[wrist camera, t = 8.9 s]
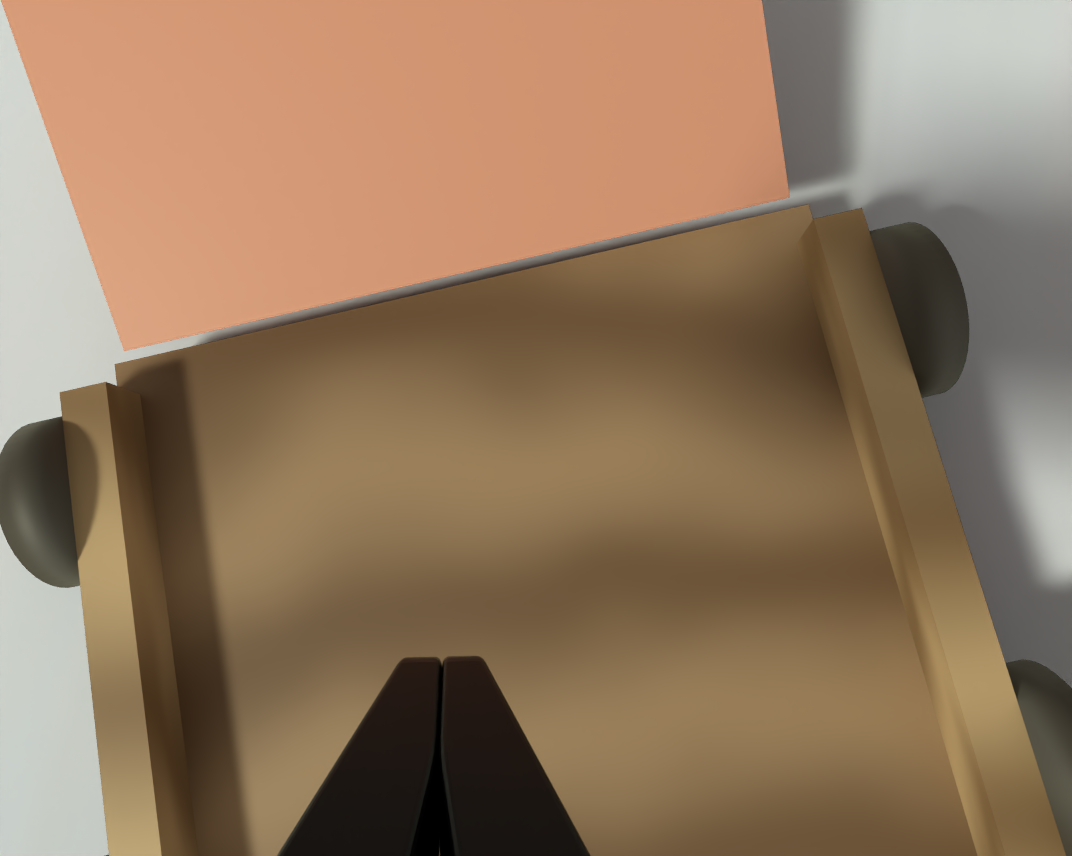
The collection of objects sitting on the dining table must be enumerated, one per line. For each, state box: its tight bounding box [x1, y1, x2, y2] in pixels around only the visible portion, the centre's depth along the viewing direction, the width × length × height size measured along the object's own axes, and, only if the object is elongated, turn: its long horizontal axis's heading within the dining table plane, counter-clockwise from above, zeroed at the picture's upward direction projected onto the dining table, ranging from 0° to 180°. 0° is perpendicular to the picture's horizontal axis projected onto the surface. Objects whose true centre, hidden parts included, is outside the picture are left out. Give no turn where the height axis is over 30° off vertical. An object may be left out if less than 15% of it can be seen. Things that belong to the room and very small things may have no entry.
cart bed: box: [0, 204, 1072, 856], centre depth 19 cm, size 18×23×4 cm
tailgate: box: [1, 0, 790, 351], centre depth 19 cm, size 2×17×11 cm
